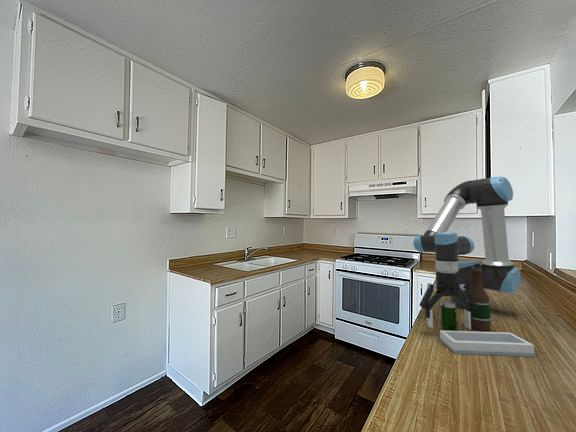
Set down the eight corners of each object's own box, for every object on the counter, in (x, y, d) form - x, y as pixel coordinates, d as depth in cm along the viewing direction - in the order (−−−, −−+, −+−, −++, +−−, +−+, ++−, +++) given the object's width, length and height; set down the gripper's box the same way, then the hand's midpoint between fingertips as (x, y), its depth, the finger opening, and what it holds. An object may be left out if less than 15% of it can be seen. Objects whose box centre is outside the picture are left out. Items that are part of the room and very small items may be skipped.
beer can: (443, 336, 93) (442, 304, 94) (439, 330, 99) (438, 300, 99) (460, 338, 92) (458, 305, 92) (455, 332, 97) (453, 301, 97)
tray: (439, 339, 91) (439, 330, 91) (510, 342, 88) (509, 332, 89) (454, 353, 81) (454, 342, 81) (535, 356, 78) (534, 345, 79)
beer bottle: (487, 326, 103) (485, 268, 104) (494, 333, 95) (491, 271, 97) (465, 323, 106) (462, 267, 107) (469, 330, 99) (467, 269, 100)
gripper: (417, 272, 94) (419, 329, 93) (488, 273, 91) (490, 332, 90) (409, 269, 101) (411, 322, 100) (475, 270, 99) (477, 324, 98)
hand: (448, 327), depth 95 cm, fingers open, 13 cm apart
